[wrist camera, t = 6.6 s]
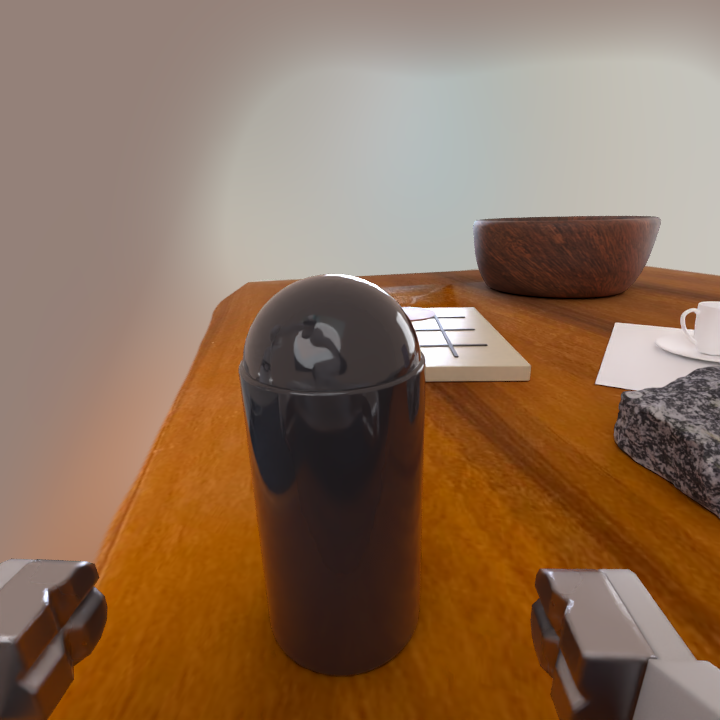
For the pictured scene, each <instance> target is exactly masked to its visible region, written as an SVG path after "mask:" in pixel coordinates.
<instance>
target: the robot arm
mask: <svg viewBox="0 0 720 720" xmlns="http://www.w3.org/2000/svg"><path fill="white" fill-rule="evenodd" d="M98 579H99V575H98V572H97V569H96V567H95V564H94V563H90V562H86V561H85V562H84V561H63V560H40V559H37V560H28V559H10V560H7V561H5V562H2V563H0V720H47V719H48V718H49V716H50V715H51V713H52V712H53V710H54V709H55V707H56V706H57V704H58V703H59V701H60V700H61V698H62V696H63V695H64V693H65V692H66V690H67V689H68V687H69V686H70V684H71V683H72V681H73V680H74V666H75V665H76V664H77V663H79V662H80V661H81V660H83V659H84V658H86V657H87V656H88V655H90V654H91V652H92V651H93V649H94V648H95V646H96V644H97V643H98V641H99V640H100V638H101V635H102V633H103V630H104V627H105V624H106V621H107V604H106V600H105V596H104V595H103V594H102V593H101V592H99V591H98V590H97V589H96V588H95V587H94V586H95V584H96V582H97V581H98ZM535 588H536V590H537V593H538V595H539V597H540V598H539V599H538V600H537V601H536V602H535V603H534V604H533V605H532V611H531V630H532V639H533V643H534V647H535V651H536V654H537V657H538V660H539V663H540V666H541V667H542V668H543V669H544V670H545V671H546V672H547V673H548V674H549V675H550V676H551V677H552V678H553V682H552V688H551V694H550V695H551V698H552V700H553V703H554V706H555V709H556V711H557V714H558V717H559V720H720V669H718V668H717V667H715V666H714V665H713V664H711V663H710V662H708V661H700V660H696V658H695V657H694V655H693V654H692V653H691V651H690V650H689V648H688V647H687V646H686V644H685V643H684V641H683V640H682V639H681V637H680V636H679V634H678V633H677V632H676V630H675V629H674V627H673V626H672V625H671V623H670V622H669V620H668V619H667V618H666V616H665V615H664V613H663V612H662V611H661V609H660V608H659V606H658V605H657V604H656V602H655V601H654V599H653V598H652V597H651V595H650V594H649V592H648V591H647V590H646V588H645V587H644V585H643V584H642V583H641V581H640V580H639V578H638V577H637V576H636V574H635V573H633V572H632V571H630V570H629V569H598V570H596V569H539V571H538V573H537V575H536V581H535Z"/></svg>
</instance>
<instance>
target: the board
mask: <svg viewBox="0 0 720 720" xmlns="http://www.w3.org/2000/svg"><path fill="white" fill-rule="evenodd" d="M402 308H403V309H404V311H405V312H406V314H407V315H408V317H409V318H410V320H411V322H412V324H413V326H414V328H415V330H416V333H417V336H418V339H419V344H420V349H421V351H422V353H423V354H424V356H425V359H426V379H425V382H434V381H529V380H530V372H531V365H530V364H529V363H528V362H527V361H526V360H525V359H524V358H523V357H522V356H521V355H520V354H519V353H518V352H517V351H516V350H515V349H514V348H513V347H512V346H511V345H510V344H509V343H508V342H507V341H506V340H505V339H504V338H503V337H502V336H501V335H500V334H499V333H498V332H497V331H496V329H495V328H494V327H493V326H492V325H491V324H490V323H489V322H488V321H487V320H486V319H485V318H484V317H483V316H482V315H481V314H480V313H479V312H478V311H477V310H476V309H475V308H474V307H470V308H418V307H402Z"/></svg>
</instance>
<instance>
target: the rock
mask: <svg viewBox="0 0 720 720" xmlns="http://www.w3.org/2000/svg"><path fill="white" fill-rule="evenodd" d="M619 410H620V411H619V413H618V419H617V422H616V424H615V427H614V439H615V442H616V443H617V444H618V447H619V448H620V449H621V450H623V451H624V452H626V453H627V454H628V455H629V456H631V457H632V459H633V460H634V461H636V462H638V463H639V464H641V465H642V466H644V467H646V468H648V469H650V470H652V471H653V472H655V473H657V474H658V475H660V476H662V477H663V478H665V479H666V480H668V481H670V482H672V483H673V484H674V486H675V487H676V488H678V489H679V490H680V491H682V492H683V493H684V494H686V495H687V496H689V497H690V498H692V499H693V500H695V501H696V502H698V503H699V504H701V505H702V506H704V507H705V508H707V509H708V510H710V511H711V512H713V513H715V514H716V515H717V516H718V517H719V518H720V366H710V367H704V368H699V369H696V370H694V371H692V372H691V373H689V374H688V375H687V376H685V377H680V378H677V379H676V380H675V381H673V382H671V383H669V384H668V385H666V386H664V387H662V388H653V387H652V388H645V389H643V390H638V391H625V392H623V393H622V394H621V402H620V403H619Z"/></svg>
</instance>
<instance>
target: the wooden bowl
mask: <svg viewBox="0 0 720 720" xmlns="http://www.w3.org/2000/svg"><path fill="white" fill-rule="evenodd" d="M660 224H661V221H660V218H658V217H651V216H576V217H575V216H574V217H573V216H572V217H528V218H501V219H500V218H499V219H483V220H477V221H475V222H474V225H473V229H474V245H475V254H476V260H477V264H478V268H479V271H480V273H481V276H482V278H483V279H484V281H485V283H486V284H487V285H488V286H489V287H491V288H493V289H495V290H499V291H503V292H508V293H513V294H520V295H529V296H541V297H562V298H583V297H601V296H610V295H615V294H619V293H622V292H624V291H625V290H626V289H628V288H629V287H630V286H631V285H632V284H633V283H634V282H635V280H636V279H637V278H638V276H639V275H640V274H641V272H642V270H643V268H644V267H645V265H646V263H647V261H648V258H649V256H650V254H651V251H652V248H653V246H654V243H655V240H656V237H657V234H658V231H659V228H660Z"/></svg>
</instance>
